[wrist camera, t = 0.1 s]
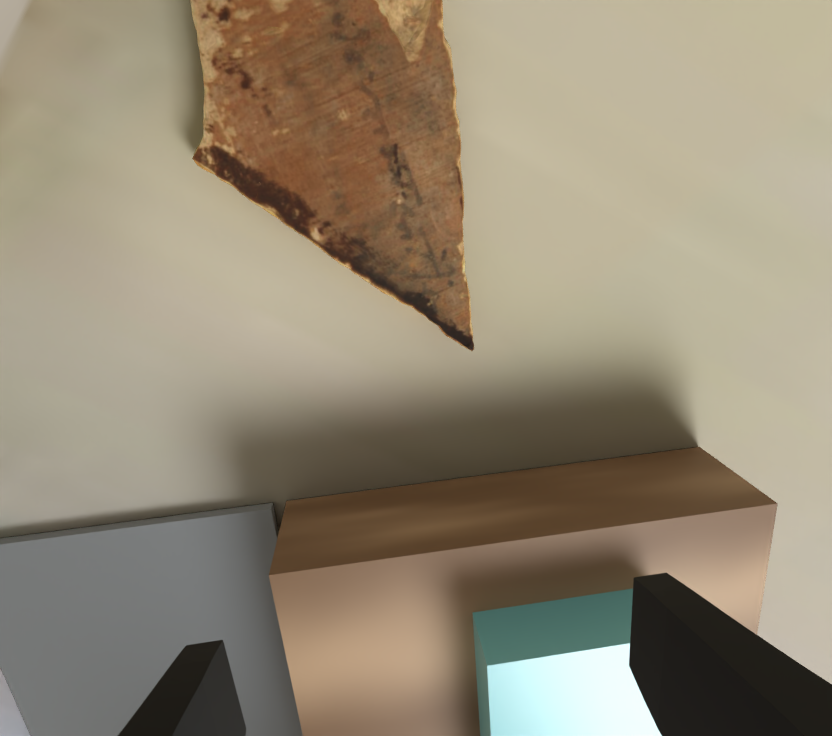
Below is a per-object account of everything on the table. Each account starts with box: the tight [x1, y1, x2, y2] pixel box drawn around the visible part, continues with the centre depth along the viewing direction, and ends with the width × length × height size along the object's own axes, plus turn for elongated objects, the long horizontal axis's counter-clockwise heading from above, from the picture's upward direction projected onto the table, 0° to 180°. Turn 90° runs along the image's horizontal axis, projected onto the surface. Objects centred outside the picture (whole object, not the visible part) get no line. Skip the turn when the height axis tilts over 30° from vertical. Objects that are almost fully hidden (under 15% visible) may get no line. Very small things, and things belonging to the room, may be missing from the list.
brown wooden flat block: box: [269, 447, 777, 736], centre depth 20 cm, size 14×16×4 cm
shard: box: [190, 0, 474, 351], centre depth 16 cm, size 11×8×2 cm
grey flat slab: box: [0, 503, 303, 736], centre depth 21 cm, size 14×11×1 cm
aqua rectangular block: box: [472, 589, 662, 736], centre depth 17 cm, size 9×6×2 cm, turn 5°
